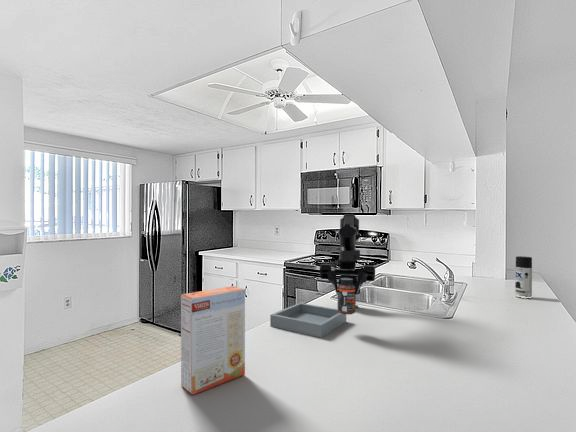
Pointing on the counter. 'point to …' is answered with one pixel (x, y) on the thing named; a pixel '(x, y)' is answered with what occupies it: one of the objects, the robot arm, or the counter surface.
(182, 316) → the cracker box
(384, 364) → the counter surface
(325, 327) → the gray square tray
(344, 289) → the supplement bottle
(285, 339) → the counter surface
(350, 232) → the robot arm
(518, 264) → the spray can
